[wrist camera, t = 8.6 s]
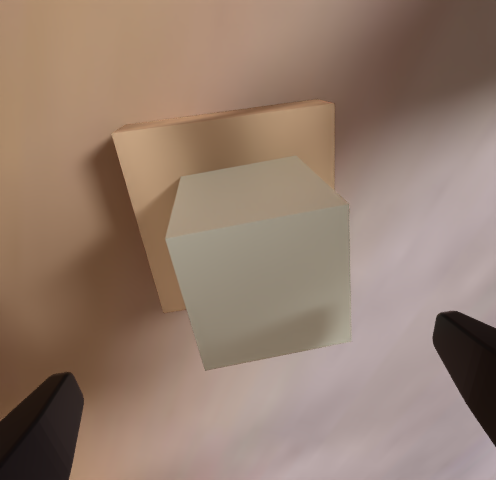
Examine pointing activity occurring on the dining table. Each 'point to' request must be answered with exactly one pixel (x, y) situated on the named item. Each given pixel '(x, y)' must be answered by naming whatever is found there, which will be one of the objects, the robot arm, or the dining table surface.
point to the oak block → (212, 163)
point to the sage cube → (261, 261)
